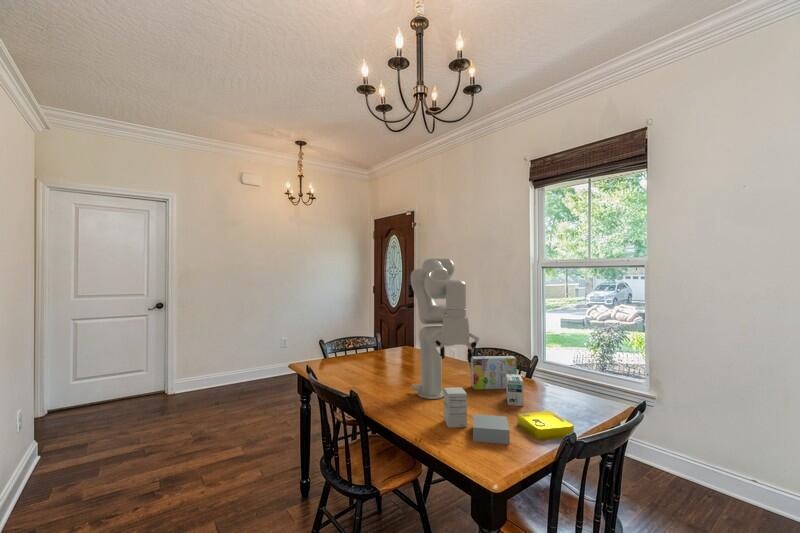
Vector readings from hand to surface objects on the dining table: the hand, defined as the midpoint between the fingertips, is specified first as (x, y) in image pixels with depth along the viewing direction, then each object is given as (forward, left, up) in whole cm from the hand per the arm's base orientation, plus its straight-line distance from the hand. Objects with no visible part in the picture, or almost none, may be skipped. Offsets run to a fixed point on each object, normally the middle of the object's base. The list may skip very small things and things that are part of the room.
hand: (455, 358), depth 145 cm
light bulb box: (+23, +30, -25) cm, 45 cm away
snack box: (+14, +48, -25) cm, 56 cm away
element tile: (+32, +2, -25) cm, 40 cm away
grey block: (+13, -7, -25) cm, 29 cm away
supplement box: (0, 0, -25) cm, 25 cm away
